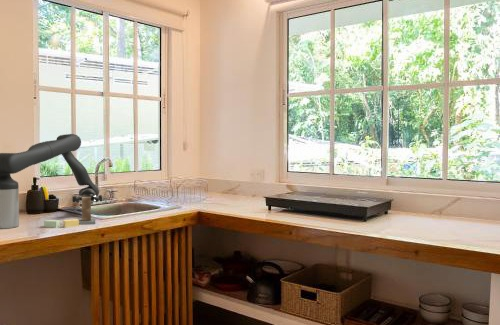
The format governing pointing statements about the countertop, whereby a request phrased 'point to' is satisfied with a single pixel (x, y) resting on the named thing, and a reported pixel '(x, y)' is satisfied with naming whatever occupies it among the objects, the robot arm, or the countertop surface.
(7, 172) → the robot arm
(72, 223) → the mustard brick
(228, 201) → the countertop surface
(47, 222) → the sage brick
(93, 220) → the slate coaster
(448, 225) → the countertop surface
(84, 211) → the walnut post
